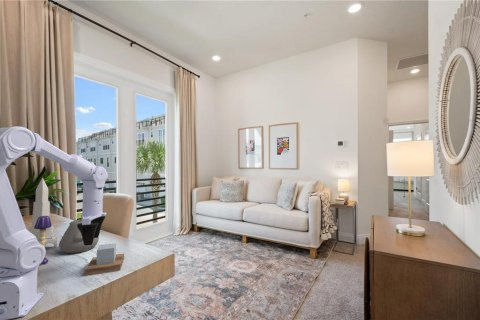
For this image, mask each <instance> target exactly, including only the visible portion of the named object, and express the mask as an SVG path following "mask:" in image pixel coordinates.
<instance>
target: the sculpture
mask: <svg viewBox="0 0 480 320" xmlns="http://www.w3.org/2000/svg"><path fill="white" fill-rule="evenodd" d="M50 202H51V201H49V188H48V186H47V184H46V182H45V179H44V178H43V177H41V180H40V181H39V182H38V185H37V187H36V189H35V201H33V205H32V206H33V207H32V220H31V221H32V222H31V226H29V227H28V228H27V230H28V231H29V232H30V233H32V234H33V235H34V236H35V237H36V238H37V241H38V242H39V237H40V236H39V233H40V229H34V227H35V224H36V221H37V219H38V217H40V216H49V217H50V218H51V211H50V209H51V208H50V207H51V203H50ZM47 229H48V228H46V230H47ZM49 229H50V231H51V232H50V233H51V237H50V236H45V244H44V245H45V246H46V245H48V244H53V247H54V248H58V243H57V242H58V241H57V240H58V239H57V237H55V225H52V226H51V227H50V228H49Z"/></svg>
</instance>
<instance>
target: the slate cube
mask: <svg viewBox="0 0 480 320" xmlns="http://www.w3.org/2000/svg"><path fill="white" fill-rule="evenodd" d="M116 255H117V243H116V242H114V243H105V244H100V245H99V246H98V247H97V249H96V257H97V265H101V264H108V263H114V261H115V258H116Z"/></svg>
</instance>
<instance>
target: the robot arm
mask: <svg viewBox="0 0 480 320" xmlns="http://www.w3.org/2000/svg"><path fill="white" fill-rule="evenodd" d="M27 153H34V154H36V155H38V156H40V157H43V158H45V159H48V160H50V161H53V162H54V163H57V164H59V165H60V168H61V170H62V171H65V172H67V173H69V174H71V175H74V176H76V177H78V179H79V180H80V182H82V213H81V219H82V223H79V224H77V228H78V229H79V231H80V232H81V235H82V238H83V243H84V246H86V245H92V244H93V240H94V238H98V237H99V238H100V233H101V229H102V225H103V222H104V221H105V219H106V215H107V212H104V211H103V204H104V203H103V202H104V187H105V186H106V185H105V184H106V181H107V179H108V177H109V173H108V172H107V170H106V168H105V167H104V166H102V165H96V164H95V163H94V162H93V161H89V160H87V159H85V158H84V156H83V155H82V154H79V153H71V154H68V152H67V153H66V152H65V151H64V150H62V149H60V148H58V147H57V146H55V145H54V144H52V143H50V142H48V141H47V140H45V139H44V138H43V137H42V136H40V134H39V133H36V132H33V131H31V130H30V129H28V128H27V127H24V126H18V125H17V126H10V127H9V126H8V127H0V320H11V319H15V318H17V319H18V318H22V317H25V316H26V315H27V314H28V313H29V312H30V311H31V310H32V309H33V308H34V306H35V305H36V304H37V303H38V302H39V301H40V299H41V298H42V297H43V296H44V295H45V293H44V292H38V268H39V267H40V265H39V264H40V263H41V262H42V261H43V259H44V257H45V258H46V248H45V247H44V246H43V245H41V244H40V243H39V242H38V241H37V238H36V237H35V236H34V235H33V234H32V233H30V232H29V231H28V228H27V227H26V224H25V221H24V218H23V216H22V213H21V211H20V210H21V209H20V207H19V204H18V202H17V199H16V196H15V194H14V191H13V188H12V185H11V183H10V179H9V177H8V173H7V172H6V169H7V168H8V167H9V166H11V164H12V163H14V161H15V160H16V159H18V158H20V157H22V156H23V155H25V154H27Z"/></svg>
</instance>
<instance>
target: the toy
mask: <svg viewBox="0 0 480 320" xmlns="http://www.w3.org/2000/svg"><path fill="white" fill-rule="evenodd" d="M79 223H82V218H81V219H75V220H72V221H70V222H69V225H68V227H67V228H66V230H65V232H64V233H63V235H62V237H61V239H60V240H59V243H58V248H59V250H60V251H61V252H64V253H65V254H66V253H67V254H77V253H82V252H86V251H88V250H91V249H93V248H94V247H95V246H97V244H98V242H99V238H100V236H99V237H98V238H94V240H93V244H92V245H86V246H84V243H83V238H82V235H81V232H80V231H79V229H78V228H77V224H79Z"/></svg>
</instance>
